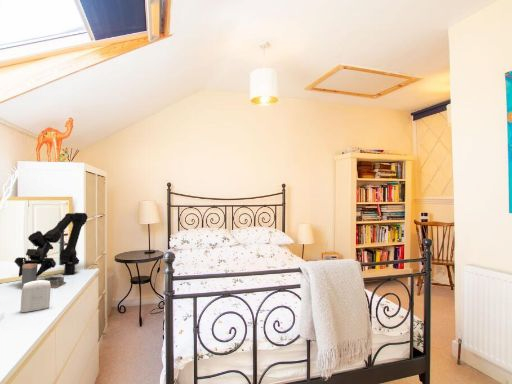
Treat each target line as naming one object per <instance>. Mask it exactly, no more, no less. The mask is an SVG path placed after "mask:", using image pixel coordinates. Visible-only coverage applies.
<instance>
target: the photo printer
mask: <svg viewBox="0 0 512 384" xmlns="http://www.w3.org/2000/svg"><path fill="white" fill-rule="evenodd" d="M21 287H22V286H21ZM51 289H52V288H51V285H50V281H47V280H44V279H37V281H31V282H28V283H25V284H23V287H22V290H21V295H20V297H21V298H20V299H21V300H20V311H19V312H21V313H27V312H28V313H29V312H33V311H39V310H44V309H45V310H46V309H49V308H50V303H51Z"/></svg>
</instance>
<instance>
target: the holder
mask: <svg viewBox="0 0 512 384" xmlns="http://www.w3.org/2000/svg"><path fill="white" fill-rule="evenodd" d="M43 280H47V281H50V285H51V289H57V288H58V289H59V288H60V287H62V286H64V285H66V283H67V281H65V277H64V276H49V277H46V278H44V279H43Z"/></svg>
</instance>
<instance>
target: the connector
mask: <svg viewBox="0 0 512 384" xmlns="http://www.w3.org/2000/svg"><path fill="white" fill-rule="evenodd" d="M38 265H39V264H37V263H28V264H25V265H23V267H22V275H21V289H22V287H23V284H25V283H28V282H31V281H37V280H38V277H36V274H37V272H38Z"/></svg>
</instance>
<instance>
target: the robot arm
mask: <svg viewBox="0 0 512 384" xmlns="http://www.w3.org/2000/svg"><path fill="white" fill-rule="evenodd" d="M64 215H65V216H64V217H62V219H61V220H60V221H59V222H58V223H57V224H56V225H55V227H53V228H52V229H50V230H48V231H46V232H45V233H44V234H43V233H42V232H41V231H40V230H36V232H33V233H31V234H29V235H28V238H27V239H28V241H29V242H30V243H31V244H32V245H33V246H34V247H36V248H27V250H26V252H25V255H26V256H28V259H27V258H26V257H19V256H18V257H16V258H15V260H14V263H15V264H16V266H17V267H18V268H19V270H18V277H19V278H20V277H22V267H23V265H25V264H28V263H37V264H38V265H40V266H39V269H37V274H36V277H37V278H38V277H40V276H41V275H42V274H43V273H45V272H46V271H48V270H51V269H52V268H55V267H56V265H57V262H56V261H55V259H54V257H48V253H49V252H50V250H54V246H53V244H56V243H58V242H59V241H60V239H61V238H62V233H63V232H64V231H65V230H66V229H67V227H69V225H70V224H71V223H72V228H71V231H70V233H69V238H68V241H67V244H66V246H65V248H64V249H63V248H62V249H61V251H60V254H59V261H60V264H61V265H64V270H63V273H62V274H61V275H62V276H65V275H66V276H67V275H69V276H70V275H72V276H73V275H75V274H77V271H76V265H78V264H79V263H80V259H79V258H78V257H77V254H78V252H77V250H76V249H77V248H76V247H77V244H78V240H79V236H80V233H81V230H82V228H83V226H84V225H85V224H86V222H87V221H88V215H87V213H86V212H74V213H70V212H68V213H67V212H66V213H65V214H64Z"/></svg>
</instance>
